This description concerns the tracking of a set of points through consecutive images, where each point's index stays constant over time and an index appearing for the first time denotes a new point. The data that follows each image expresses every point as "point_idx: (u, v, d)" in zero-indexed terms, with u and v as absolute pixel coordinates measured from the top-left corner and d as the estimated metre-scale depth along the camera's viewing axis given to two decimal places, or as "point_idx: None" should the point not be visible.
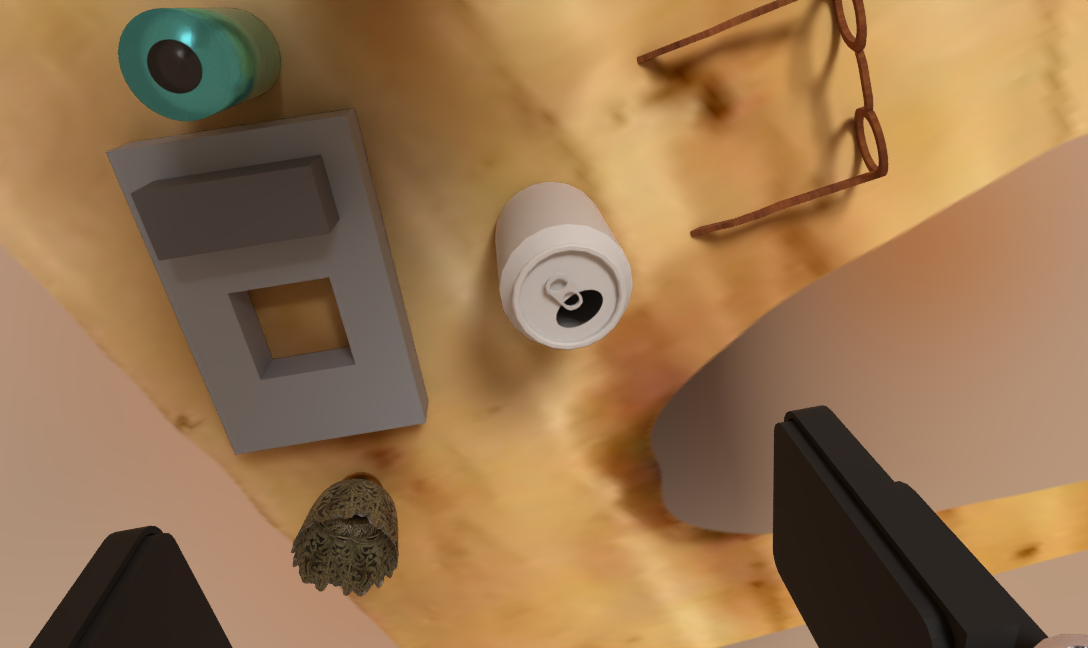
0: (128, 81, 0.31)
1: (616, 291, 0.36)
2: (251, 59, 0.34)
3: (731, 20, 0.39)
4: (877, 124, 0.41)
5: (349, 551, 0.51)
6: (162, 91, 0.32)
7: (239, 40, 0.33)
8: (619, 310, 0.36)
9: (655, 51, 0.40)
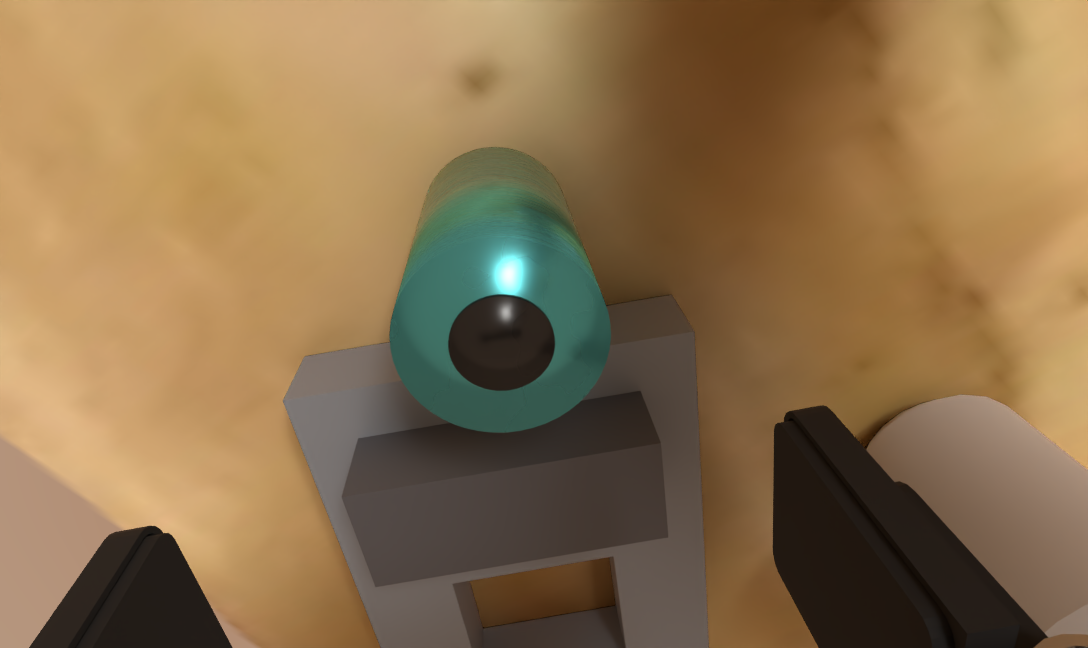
0: (402, 372, 0.15)
1: None
2: None
3: None
4: None
5: None
6: (466, 385, 0.15)
7: (585, 252, 0.17)
8: None
9: None
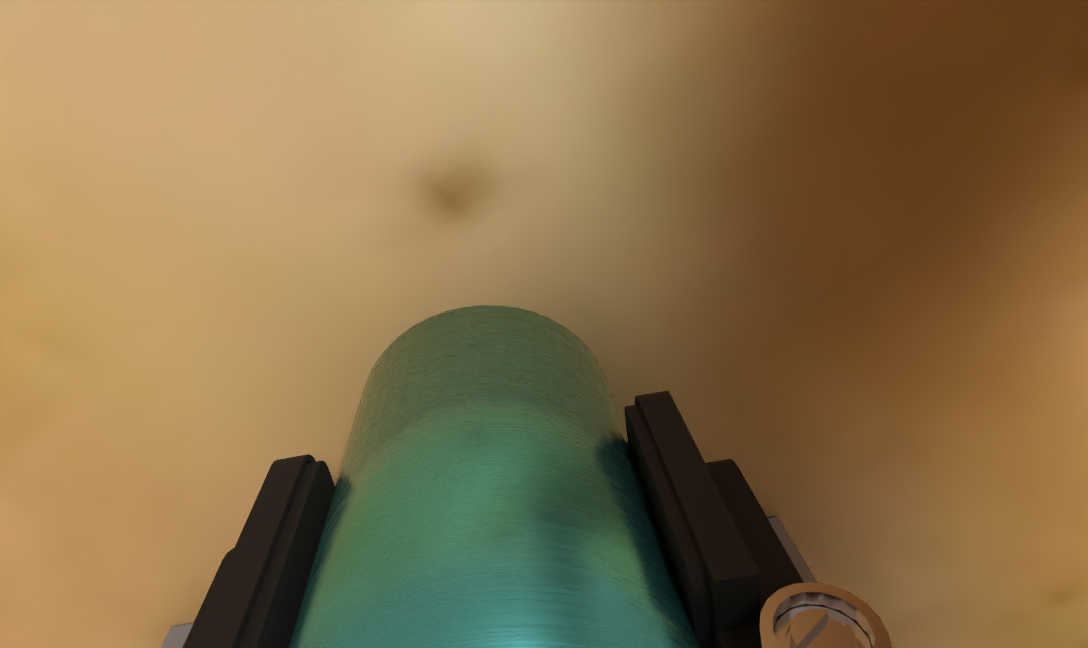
0: None
1: None
2: None
3: None
4: None
5: None
6: None
7: (696, 642, 0.07)
8: None
9: None
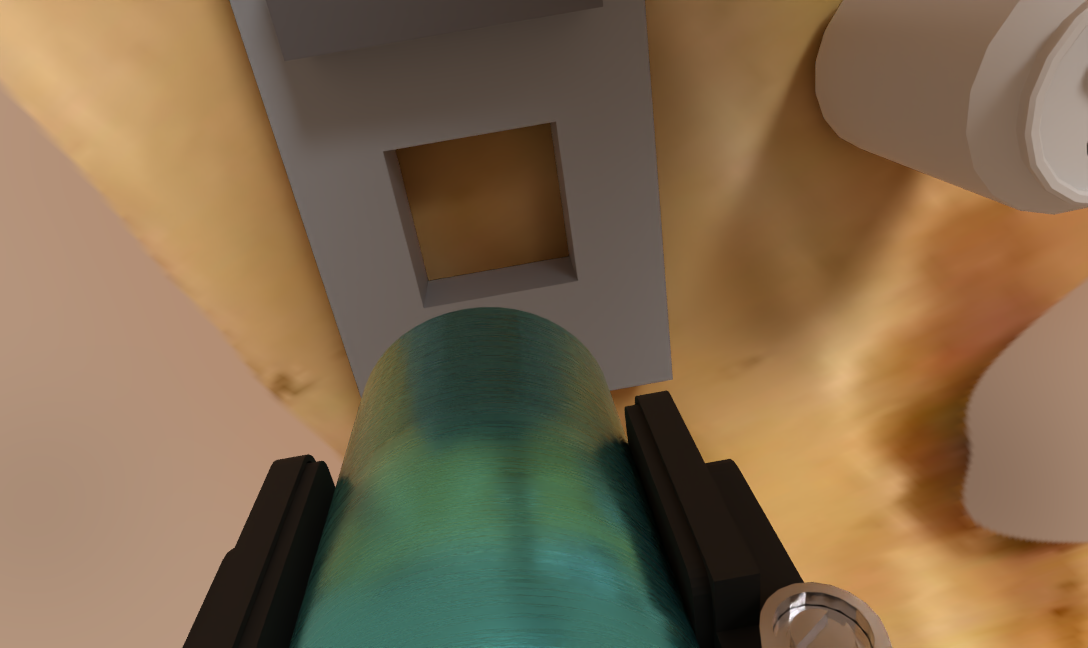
0: None
1: None
2: None
3: None
4: None
5: None
6: None
7: (697, 646, 0.07)
8: None
9: None
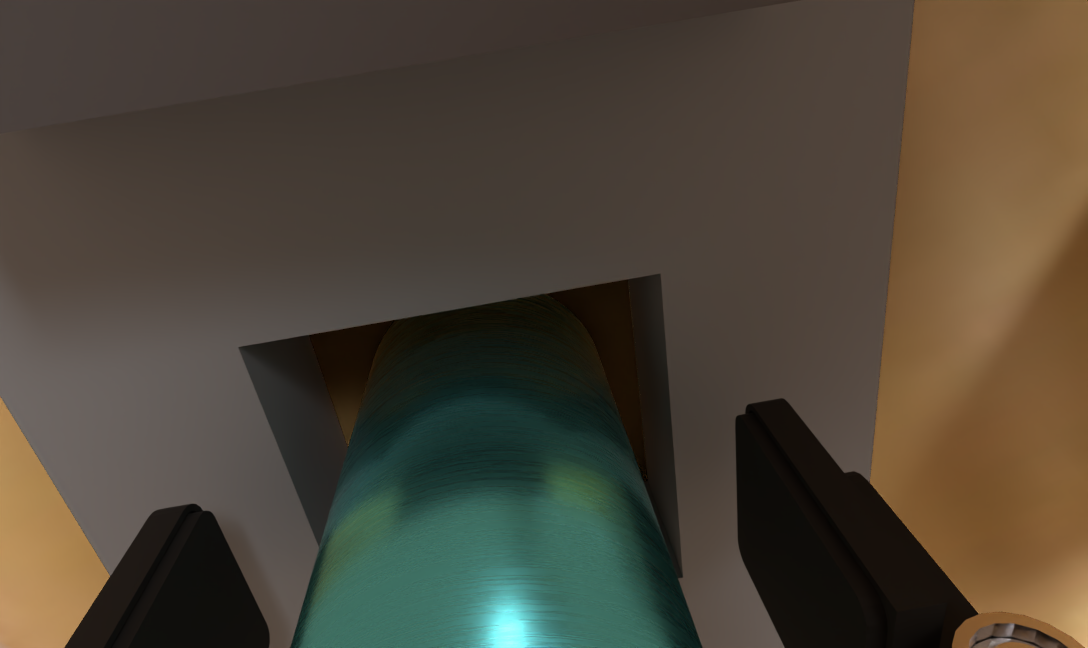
0: None
1: None
2: None
3: None
4: None
5: None
6: None
7: (670, 561, 0.08)
8: None
9: None
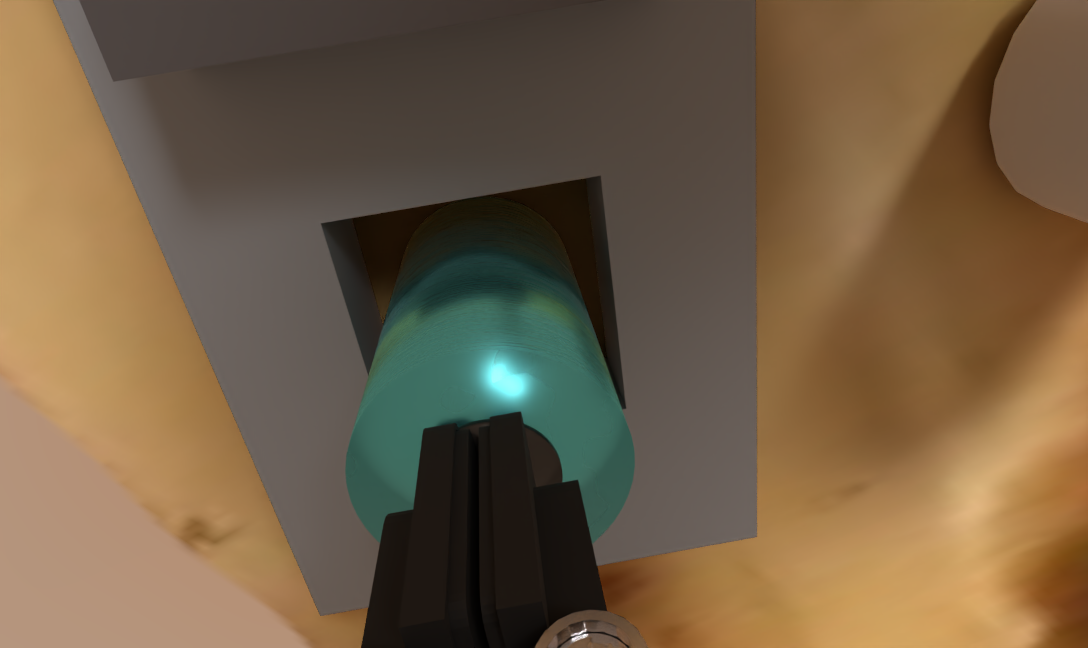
0: (363, 514, 0.12)
1: None
2: None
3: None
4: None
5: None
6: None
7: (598, 343, 0.14)
8: None
9: None
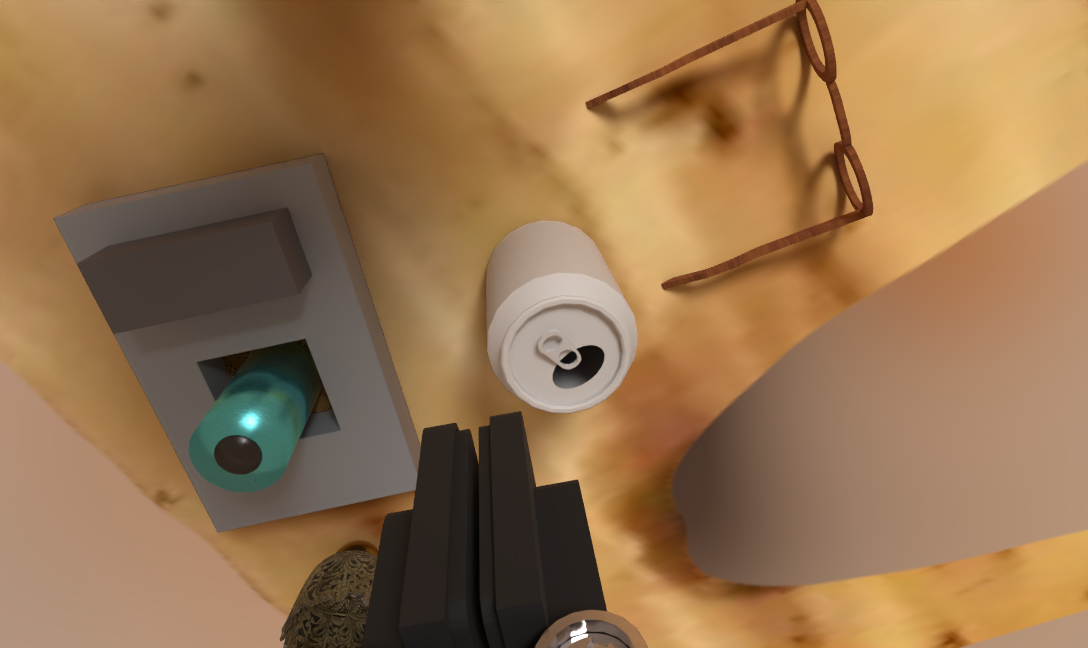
0: (197, 468, 0.35)
1: (619, 345, 0.32)
2: (302, 414, 0.38)
3: (684, 57, 0.35)
4: (857, 161, 0.36)
5: (347, 630, 0.47)
6: (227, 472, 0.35)
7: (291, 406, 0.37)
8: (623, 367, 0.31)
9: (604, 95, 0.37)
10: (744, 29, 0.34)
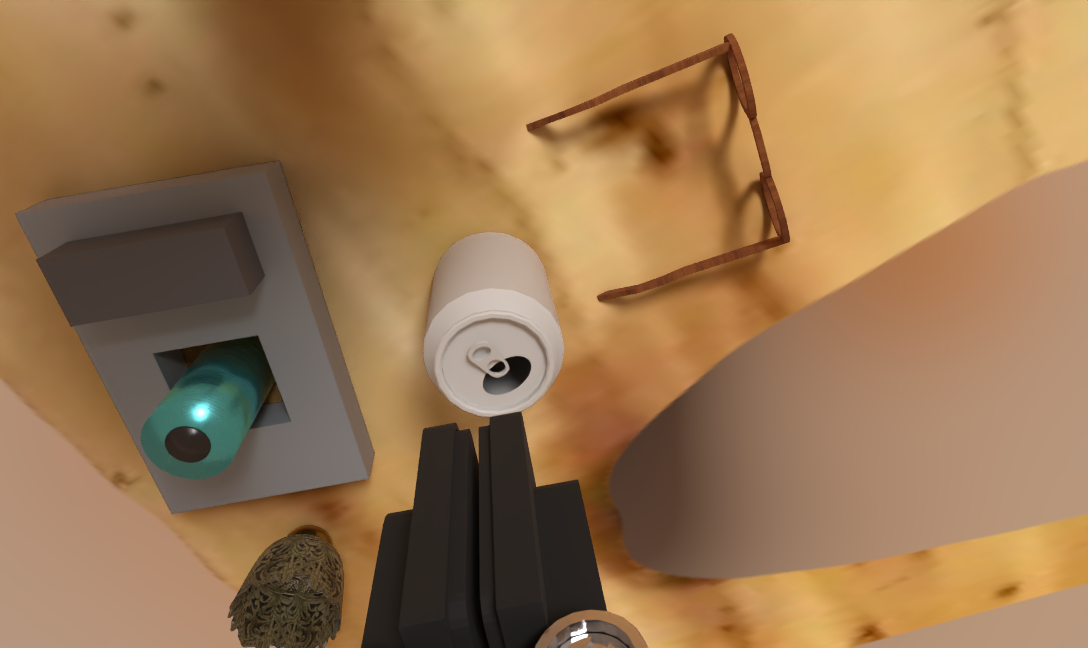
0: (149, 455, 0.37)
1: (545, 357, 0.34)
2: (252, 406, 0.40)
3: (617, 89, 0.38)
4: (775, 192, 0.39)
5: (295, 609, 0.50)
6: (177, 460, 0.37)
7: (241, 399, 0.39)
8: (548, 377, 0.34)
9: (542, 120, 0.39)
10: (673, 66, 0.37)
